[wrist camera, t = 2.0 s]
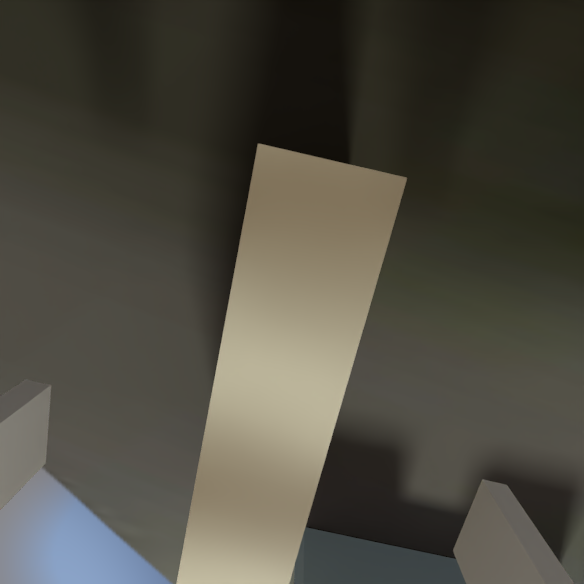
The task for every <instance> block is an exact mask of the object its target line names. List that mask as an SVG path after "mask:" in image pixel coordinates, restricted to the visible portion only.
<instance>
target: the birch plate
mask: <svg viewBox="0 0 584 584" xmlns="http://www.w3.org/2000/svg"><path fill="white" fill-rule="evenodd" d="M406 180H407V178H405V177H401V176H397V175H392V174H388V173H384V172H380V171H375V170H371V169H367V168H362V167H358V166H354V165H349V164H345V163H341V162H336V161H332V160H328V159H324V158H319V157H315V156H311V155H306V154H302V153H298V152H293V151H289V150H285V149H280V148H276V147H272V146H268V145H263V144H259V143H258V146H257V152H256V157H255V163H254V168H253V173H252V179H251V184H250V190H249V195H248V200H247V206H246V211H245V217H244V222H243V227H242V233H241V238H240V244H239V249H238V254H237V260H236V265H235V271H234V276H233V281H232V287H231V292H230V298H229V303H228V308H227V314H226V319H225V325H224V330H223V335H222V341H221V346H220V352H219V357H218V362H217V368H216V373H215V379H214V384H213V389H212V395H211V400H210V406H209V411H208V416H207V422H206V427H205V433H204V438H203V443H202V449H201V454H200V460H199V465H198V470H197V476H196V481H195V487H194V492H193V498H192V503H191V508H190V514H189V519H188V525H187V530H186V535H185V541H184V546H183V552H182V557H181V562H180V568H179V573H178V579H177V584H289V582H290V579H291V575H292V572H293V568H294V565H295V561H296V558H297V555H298V551H299V548H300V544H301V541H302V537H303V534H304V531H305V527H306V524H307V520H308V517H309V513H310V510H311V507H312V503H313V500H314V496H315V493H316V489H317V486H318V482H319V479H320V476H321V472H322V469H323V465H324V462H325V458H326V455H327V452H328V448H329V445H330V441H331V438H332V434H333V431H334V428H335V424H336V421H337V417H338V414H339V410H340V407H341V403H342V400H343V397H344V393H345V390H346V386H347V383H348V379H349V376H350V373H351V369H352V366H353V362H354V359H355V355H356V352H357V349H358V345H359V342H360V338H361V335H362V331H363V328H364V325H365V321H366V318H367V314H368V311H369V307H370V304H371V300H372V297H373V294H374V290H375V287H376V283H377V280H378V276H379V273H380V270H381V266H382V263H383V259H384V256H385V252H386V249H387V246H388V242H389V239H390V235H391V232H392V228H393V225H394V221H395V218H396V215H397V211H398V208H399V204H400V201H401V197H402V194H403V191H404V187H405V184H406Z"/></svg>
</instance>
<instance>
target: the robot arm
mask: <svg viewBox="0 0 584 584" xmlns="http://www.w3.org/2000/svg"><path fill="white" fill-rule="evenodd" d="M50 394H51V385H49V384H44V383H39V382H35V381H30V380H26V379H25V380H24V381H22V382H21V383H19V384H18V385H16V386H15V387H13V388H12V389H10V390H9V391H7V392H6V393H4V394H3V395H1V396H0V510H1V509H2V508H3V507H4V506H5V505H6V504H7V503H8V502H9V501H10V499H12V497H13V496H14V495H15V494H16V493H17V492H18V491H19V490H20V489H21V488H22V487H23V486H24V485H25V484H26V483H27V482H28V481H29V480H30V479H31V478H32V477H33V476H34V475H35V474H36V473H37V472H38V471H39V470H40V468H41V467H42V466H43V465H44V464H45V463H46V453H47V438H48V424H49V409H50ZM453 552H454V555H455V557H456V560H457V562H458V565H459V567H460V570H461V572H462V575H463V577H464V580H465V582H466V584H574V582H573V581H572V580H571V578H570V577H569V575H568V574H567V572H566V571H565V569H564V568H563V566H562V565H561V563H560V562H559V560H558V559H557V558H556V556H555V555H554V553H553V552H552V550H551V549H550V547H549V546H548V544H547V543H546V541H545V540H544V538H543V537H542V536H541V534H540V533H539V531H538V530H537V528H536V527H535V525H534V524H533V522H532V521H531V519H530V518H529V516H528V515H527V514H526V512H525V511H524V509H523V508H522V506H521V505H520V503H519V502H518V500H517V499H516V497H515V496H514V494H513V493H512V491H511V490H510V489H509V487H508V486H507V485H506V484H501V483H497V482H492V481H488V480H483V479H482V481H481V484H480V486H479V488H478V491H477V493H476V496H475V498H474V500H473V503H472V505H471V508H470V510H469V512H468V515H467V517H466V520H465V522H464V525H463V527H462V529H461V532H460V534H459V537H458V539H457V541H456V544H455V546H454V549H453Z"/></svg>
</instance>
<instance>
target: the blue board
mask: <svg viewBox="0 0 584 584" xmlns="http://www.w3.org/2000/svg"><path fill="white" fill-rule="evenodd" d="M294 584H466V582H465V580H464V577H463V575H462V572H461V570H460V567H459V565H458V562H457V560H456V559H454V558H449V557H444V556H440V555H435V554H430V553H425V552H421V551H416V550H411V549H406V548H402V547H397V546H392V545H387V544H383V543H378V542H373V541H368V540H364V539H359V538H354V537H349V536H345V535H340V534H335V533H330V532H326V531H321V530H316V529H311V528H307V527H305V531H304V534H303V537H302V541H301V544H300V548H299V551H298V555H297V558H296V561H295V578H294Z"/></svg>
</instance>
